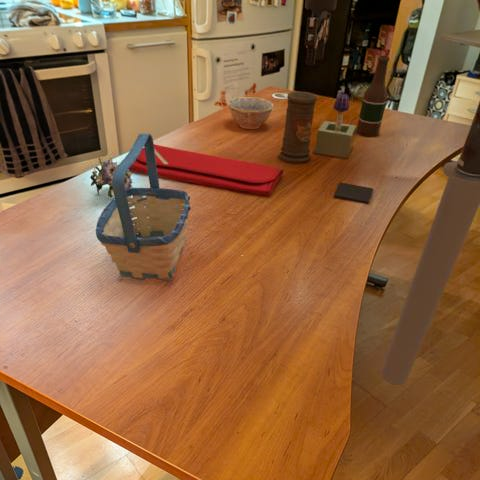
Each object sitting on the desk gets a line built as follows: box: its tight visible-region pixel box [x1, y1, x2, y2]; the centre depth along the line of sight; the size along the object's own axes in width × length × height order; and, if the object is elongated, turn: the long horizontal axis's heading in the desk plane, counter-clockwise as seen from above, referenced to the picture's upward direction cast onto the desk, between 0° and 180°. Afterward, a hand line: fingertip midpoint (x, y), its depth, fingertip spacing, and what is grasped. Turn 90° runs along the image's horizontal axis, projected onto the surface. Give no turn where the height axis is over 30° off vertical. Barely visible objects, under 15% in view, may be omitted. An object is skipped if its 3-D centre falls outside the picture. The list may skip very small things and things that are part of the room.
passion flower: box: [89, 157, 134, 199], centre depth 114 cm, size 11×11×12 cm
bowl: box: [227, 96, 275, 130], centre depth 160 cm, size 16×16×8 cm
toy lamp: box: [333, 93, 350, 132], centre depth 143 cm, size 5×5×17 cm
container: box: [279, 91, 318, 164], centre depth 136 cm, size 9×9×18 cm
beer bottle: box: [356, 55, 390, 137], centre depth 155 cm, size 8×8×24 cm
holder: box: [314, 120, 357, 159], centre depth 146 cm, size 10×10×7 cm
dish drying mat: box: [128, 143, 284, 196], centre depth 128 cm, size 16×41×4 cm, turn 72°
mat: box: [333, 182, 374, 205], centre depth 124 cm, size 9×9×1 cm
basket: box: [95, 133, 192, 282], centre depth 86 cm, size 21×16×24 cm
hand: (314, 62), depth 120 cm, fingers open, 8 cm apart
